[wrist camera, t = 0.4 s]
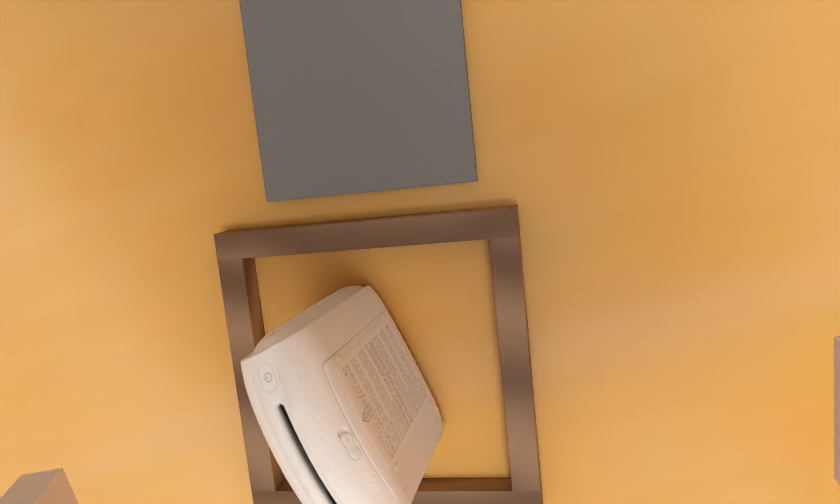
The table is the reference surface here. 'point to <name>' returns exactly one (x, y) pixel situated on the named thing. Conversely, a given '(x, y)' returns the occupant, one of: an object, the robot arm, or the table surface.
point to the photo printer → (344, 402)
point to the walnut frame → (435, 497)
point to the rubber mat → (359, 95)
